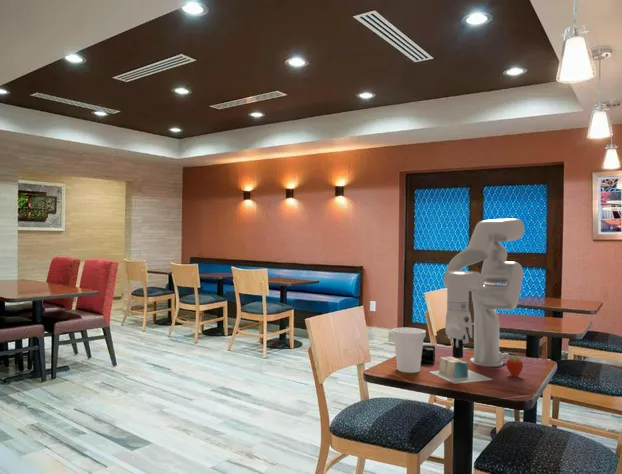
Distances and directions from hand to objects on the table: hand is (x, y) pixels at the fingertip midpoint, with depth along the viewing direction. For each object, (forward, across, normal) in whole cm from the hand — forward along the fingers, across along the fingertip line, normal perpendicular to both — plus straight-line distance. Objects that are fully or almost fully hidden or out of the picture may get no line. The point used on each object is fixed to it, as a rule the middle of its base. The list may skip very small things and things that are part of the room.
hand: (457, 357), depth 173 cm
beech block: (+4, -3, 0) cm, 5 cm away
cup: (+7, +12, +13) cm, 19 cm away
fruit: (+7, -6, -20) cm, 22 cm away
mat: (+7, 0, -1) cm, 7 cm away
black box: (+7, +22, +1) cm, 23 cm away
